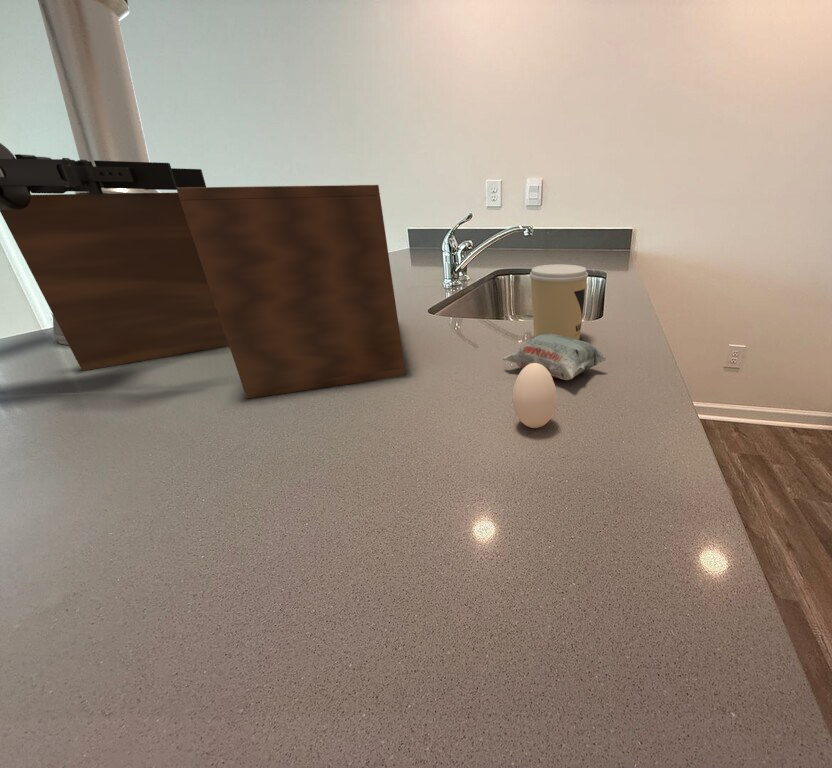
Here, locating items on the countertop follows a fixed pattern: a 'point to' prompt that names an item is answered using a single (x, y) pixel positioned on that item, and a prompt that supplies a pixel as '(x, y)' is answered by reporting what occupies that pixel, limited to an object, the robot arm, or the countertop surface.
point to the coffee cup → (558, 299)
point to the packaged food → (557, 355)
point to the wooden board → (299, 283)
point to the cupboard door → (118, 275)
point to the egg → (534, 396)
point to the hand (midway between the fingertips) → (190, 178)
